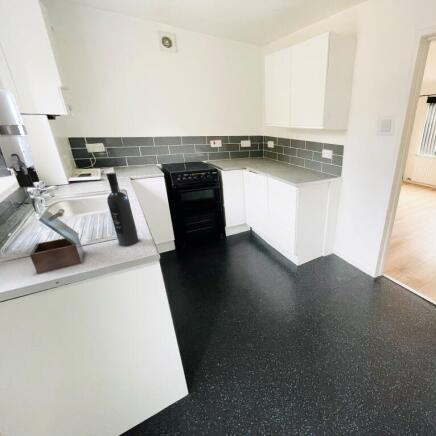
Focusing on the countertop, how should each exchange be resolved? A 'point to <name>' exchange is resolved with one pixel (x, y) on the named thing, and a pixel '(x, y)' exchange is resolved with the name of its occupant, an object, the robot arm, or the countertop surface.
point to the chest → (56, 255)
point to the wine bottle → (121, 214)
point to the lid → (59, 225)
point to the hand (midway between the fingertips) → (30, 184)
